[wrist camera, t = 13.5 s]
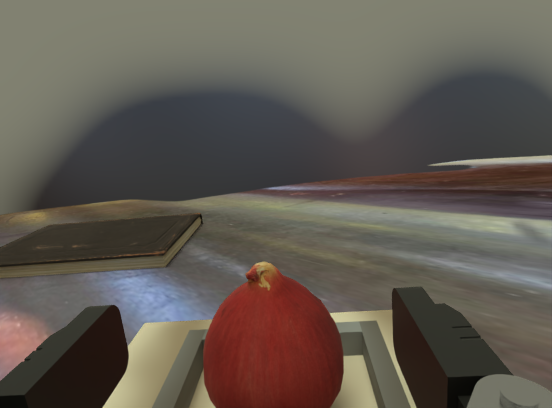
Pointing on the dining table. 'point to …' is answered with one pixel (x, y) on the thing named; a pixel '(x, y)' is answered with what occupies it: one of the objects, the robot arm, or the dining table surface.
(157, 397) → the cradle board
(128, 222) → the hardcover book
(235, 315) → the onion
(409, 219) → the dining table surface
